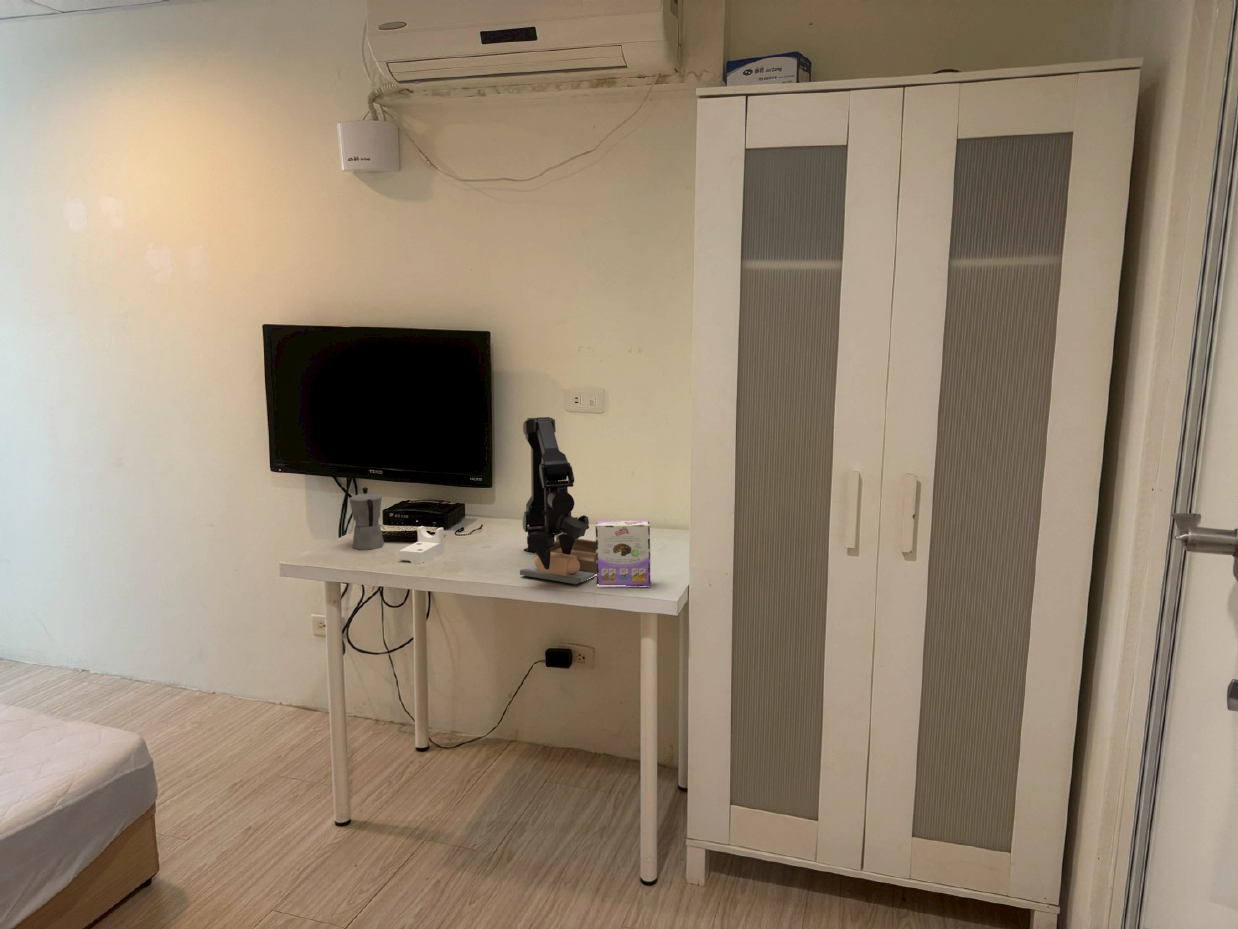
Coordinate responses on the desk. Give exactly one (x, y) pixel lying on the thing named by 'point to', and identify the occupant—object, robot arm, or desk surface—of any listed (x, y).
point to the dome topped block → (559, 564)
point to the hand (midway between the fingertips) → (556, 564)
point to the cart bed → (581, 553)
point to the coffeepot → (366, 521)
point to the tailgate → (571, 578)
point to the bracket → (424, 546)
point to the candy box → (623, 553)
